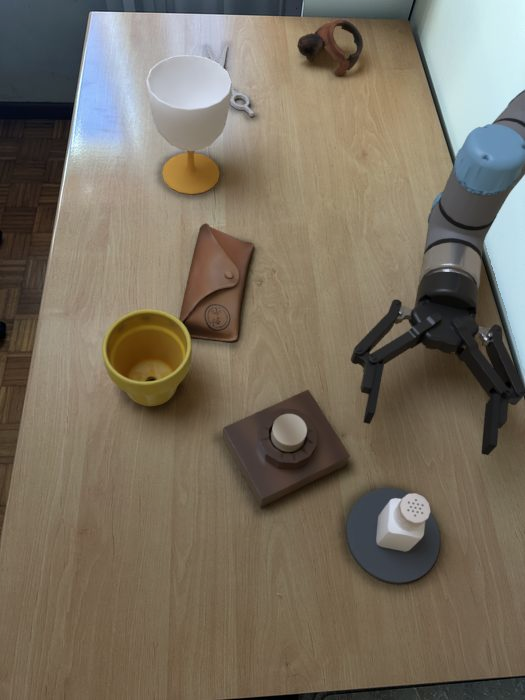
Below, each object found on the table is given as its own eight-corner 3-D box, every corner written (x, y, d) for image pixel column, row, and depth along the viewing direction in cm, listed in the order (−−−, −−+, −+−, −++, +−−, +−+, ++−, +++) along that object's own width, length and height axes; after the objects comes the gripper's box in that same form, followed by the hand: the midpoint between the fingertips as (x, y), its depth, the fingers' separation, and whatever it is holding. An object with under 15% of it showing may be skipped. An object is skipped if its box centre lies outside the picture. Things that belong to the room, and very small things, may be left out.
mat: (439, 498, 80) (440, 496, 80) (437, 591, 75) (439, 590, 74) (349, 482, 81) (350, 480, 80) (341, 574, 75) (342, 573, 74)
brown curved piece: (333, 40, 127) (359, 14, 120) (346, 87, 127) (373, 63, 120) (281, 37, 121) (305, 10, 114) (294, 86, 121) (319, 62, 114)
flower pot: (196, 415, 84) (196, 378, 75) (113, 425, 82) (103, 388, 74) (188, 346, 89) (186, 304, 80) (109, 354, 87) (99, 311, 79)
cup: (212, 210, 102) (214, 119, 87) (141, 187, 103) (131, 95, 88) (238, 160, 108) (244, 67, 93) (171, 139, 109) (166, 45, 94)
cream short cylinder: (294, 415, 80) (296, 408, 78) (310, 443, 78) (313, 436, 76) (264, 429, 78) (266, 421, 77) (281, 457, 77) (283, 451, 75)
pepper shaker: (408, 553, 76) (433, 530, 68) (374, 547, 76) (395, 522, 68) (410, 520, 78) (435, 493, 70) (377, 513, 78) (397, 485, 70)
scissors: (191, 113, 111) (187, 38, 121) (191, 116, 112) (187, 42, 122) (253, 113, 113) (245, 40, 123) (253, 117, 113) (245, 43, 123)
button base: (305, 399, 86) (310, 381, 82) (345, 465, 82) (353, 449, 77) (222, 437, 82) (223, 420, 78) (259, 508, 78) (263, 494, 74)
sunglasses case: (240, 342, 89) (216, 314, 84) (196, 350, 92) (170, 324, 87) (255, 240, 98) (234, 210, 94) (214, 251, 101) (192, 222, 97)
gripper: (532, 328, 87) (525, 475, 76) (347, 282, 89) (315, 419, 78) (558, 294, 81) (555, 449, 70) (358, 245, 83) (324, 389, 72)
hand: (428, 434), depth 74 cm, fingers open, 13 cm apart
